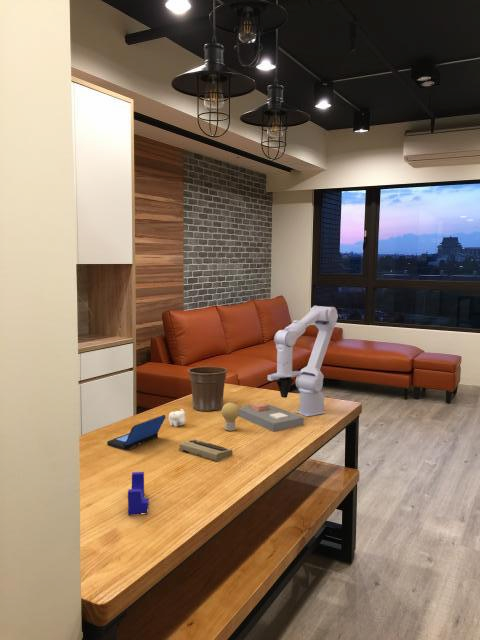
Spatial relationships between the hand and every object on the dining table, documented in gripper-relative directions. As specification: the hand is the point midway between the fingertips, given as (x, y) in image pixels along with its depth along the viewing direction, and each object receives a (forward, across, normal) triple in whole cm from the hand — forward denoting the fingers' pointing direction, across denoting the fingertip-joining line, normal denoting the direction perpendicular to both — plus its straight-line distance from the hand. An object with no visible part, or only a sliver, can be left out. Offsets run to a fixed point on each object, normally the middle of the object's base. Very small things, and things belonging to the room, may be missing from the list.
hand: (284, 397), depth 203 cm
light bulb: (+10, -23, +2) cm, 25 cm away
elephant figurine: (+10, -37, +17) cm, 42 cm away
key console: (+9, -4, +4) cm, 11 cm away
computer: (+10, -42, -13) cm, 45 cm away
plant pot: (+10, -15, +32) cm, 37 cm away
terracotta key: (+8, -4, +10) cm, 13 cm away
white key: (+9, -4, -2) cm, 10 cm away
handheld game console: (+10, -57, +8) cm, 58 cm away
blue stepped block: (+10, -74, -35) cm, 82 cm away
